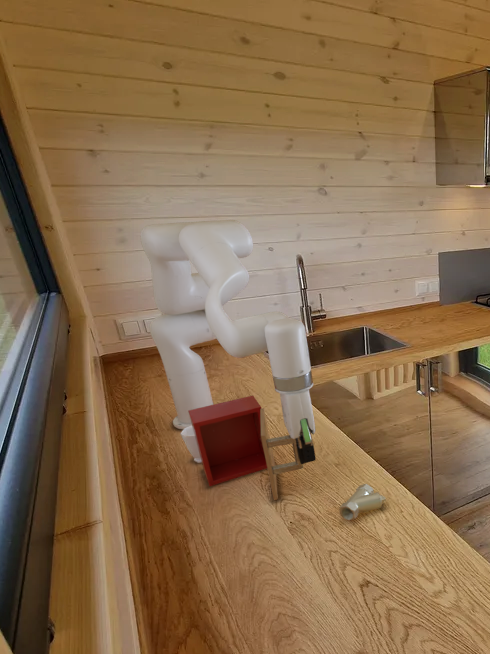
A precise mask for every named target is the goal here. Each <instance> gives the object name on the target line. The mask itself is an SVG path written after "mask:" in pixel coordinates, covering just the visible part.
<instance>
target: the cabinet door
mask: <svg viewBox="0 0 490 654" xmlns="http://www.w3.org/2000/svg"><path fill="white" fill-rule="evenodd" d="M261 408H262V409H260V418H261V439H262V444H263V449H264V454H265V459H266V464H267V469H266V470H267V473H268V477H269V483H270V488H271V492H272V493H271V494H272V497H273V498H272V499H273V501H276V500H279V496H278V482H277V475H279V474H285V473H288V472H294V471H300V470H302V469H304V464H301V463H300V459H299V453H298V447H299V444H298V439H297V438H295V439H292V438H291V437H290V435H289V434H288V435H283V436H277V437H272V438H271V437H270V431H269V426H268V421H267V417H266V411H265V408H264V407H261ZM285 445H292V449H293V454H294V461H292V462H287V463H282V464H277V465H276V461H275V457H274V452H273V448H275V447H280V446H285Z"/></svg>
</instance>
